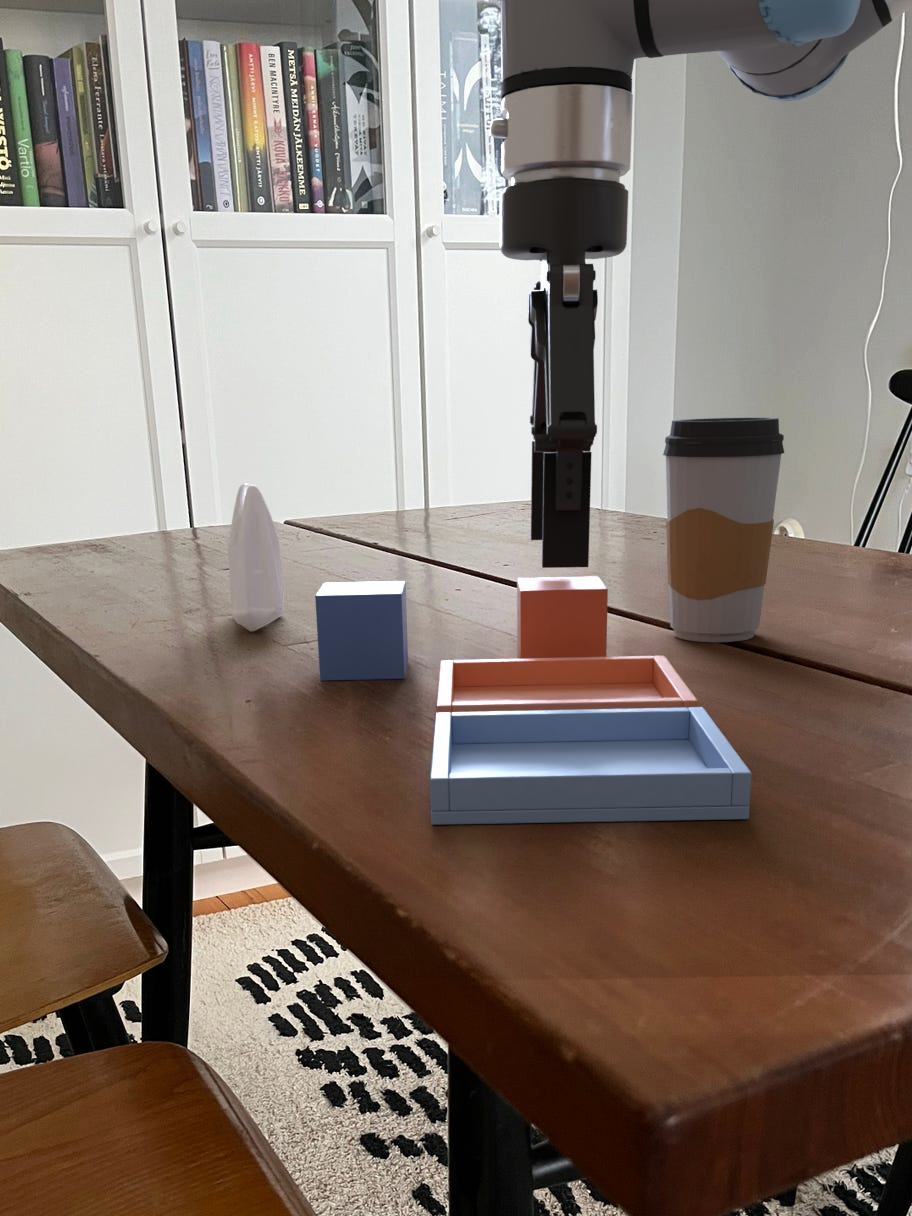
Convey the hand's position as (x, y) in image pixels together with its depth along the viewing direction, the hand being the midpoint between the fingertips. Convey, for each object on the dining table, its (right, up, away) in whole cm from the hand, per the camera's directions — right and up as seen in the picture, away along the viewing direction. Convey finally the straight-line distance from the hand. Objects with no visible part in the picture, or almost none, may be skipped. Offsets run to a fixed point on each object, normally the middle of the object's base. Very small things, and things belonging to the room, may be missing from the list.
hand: (557, 552), depth 81 cm
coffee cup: (+13, -4, +12) cm, 17 cm away
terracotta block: (0, -7, +3) cm, 7 cm away
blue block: (-13, -7, +3) cm, 15 cm away
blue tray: (-1, -16, -22) cm, 27 cm away
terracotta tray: (-1, -12, -10) cm, 15 cm away
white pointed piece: (-22, -1, +21) cm, 31 cm away
